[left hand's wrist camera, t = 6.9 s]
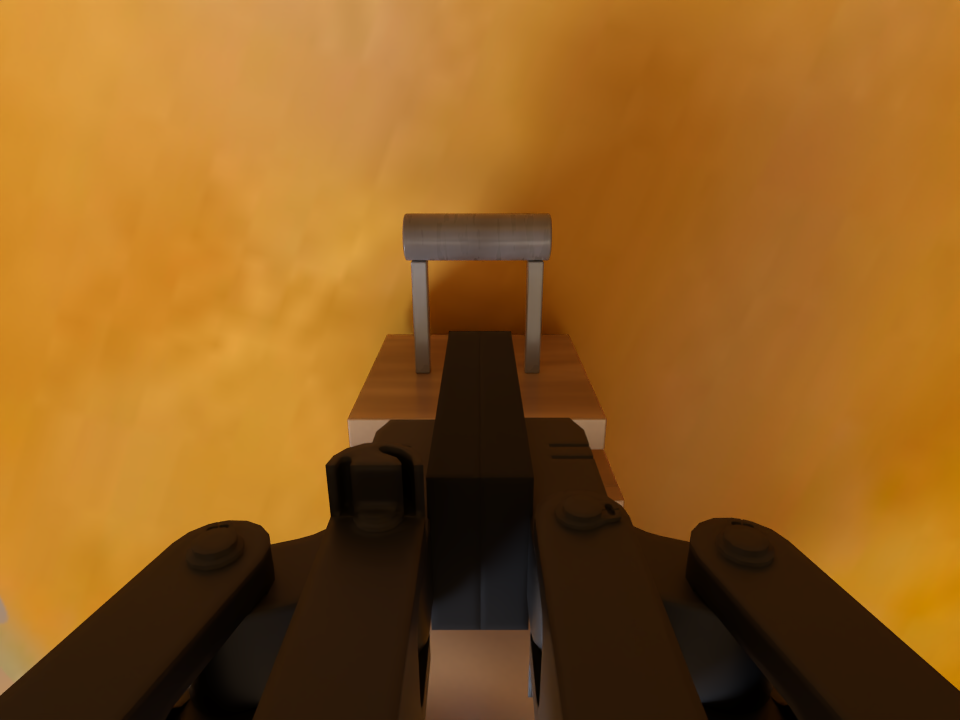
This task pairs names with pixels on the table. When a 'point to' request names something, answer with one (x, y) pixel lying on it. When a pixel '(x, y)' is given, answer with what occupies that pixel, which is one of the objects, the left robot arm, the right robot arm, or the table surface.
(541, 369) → the drawer
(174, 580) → the left robot arm
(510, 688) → the cabinet
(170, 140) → the table surface
